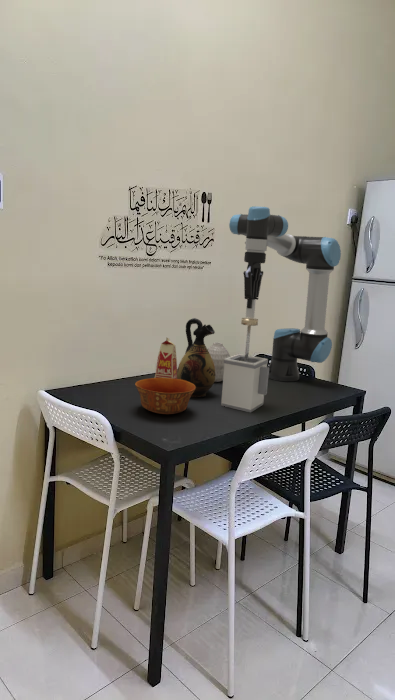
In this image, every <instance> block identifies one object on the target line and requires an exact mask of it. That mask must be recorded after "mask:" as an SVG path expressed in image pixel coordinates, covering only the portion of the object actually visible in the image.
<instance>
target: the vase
mask: <svg viewBox="0 0 395 700" xmlns="http://www.w3.org/2000/svg"><path fill="white" fill-rule="evenodd" d="M207 349H208V351H209V353H210V355H211V358H212V360H213V362H214V366H215V374H216V376H215V381H214V383H217V382H218V383H219V382H223V376H224V360H225V359H226V358H229V357H231V354H230V352H229V350H228V349H227V348H226V347H225V346H224V345H223V343H222V342H219V341H218V342H217V341H214V342H213V343H212V345H210V346H209V347H208V348H207Z"/></svg>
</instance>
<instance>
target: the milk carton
mask: <svg viewBox="0 0 395 700" xmlns="http://www.w3.org/2000/svg"><path fill="white" fill-rule="evenodd" d="M176 348H177V347H176V345H175V344H174V343H173V342H172V341H171V339H170V338H169V337H166V340H165V341H163V342H161V343H160V348H159V352H158V355H157V359H156V369H155V372H154V373H155V374H154V377H153V378H173V379H177V369H178V360H177V349H176Z"/></svg>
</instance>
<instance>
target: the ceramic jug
mask: <svg viewBox="0 0 395 700" xmlns="http://www.w3.org/2000/svg"><path fill="white" fill-rule="evenodd" d="M192 325H197V328H195V329H194V330H193V336H195V339H194V341H193V337H192V330H191V327H192ZM214 334H216V332H215V330H214V328H213V327H212V325H211V324H207V325H206V324H203V322H202V321H201V320H200V319H198V318H196V317H193V318H191V319H189V320H187V322H186V324H185V335H186V339H187V347H186V349H185V353H184V355H183V356H182V358H181V360H180V362H179V364H178V365H177V379H181V380H185V381H188V382H190V383H193V384H194V385H195V386H196V389H195V391H194V392H193V393H192V395H191V397H190V398H204V397H206V396H207V393H208V391H209V390H210V389H211V388H212V387H213V385H214V383H215V382H214V381H215V376H216V374H215V366H214V362H213V360H212V358H211V355H210V353H209V351H208V348H207V346H206V344H205V341H204V340H205V338H206V337H207V336H211V335H214Z"/></svg>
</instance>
